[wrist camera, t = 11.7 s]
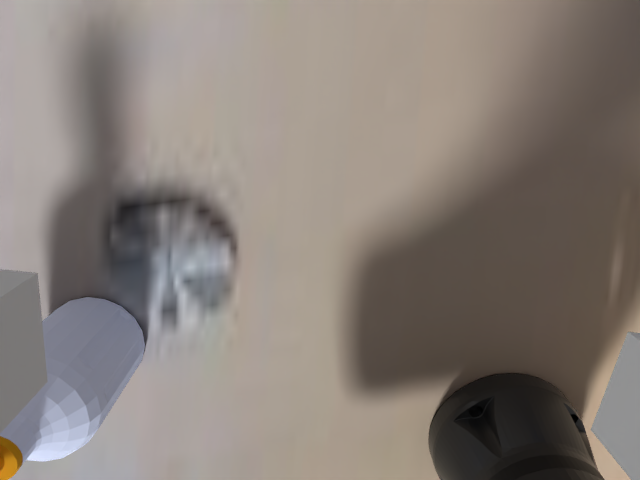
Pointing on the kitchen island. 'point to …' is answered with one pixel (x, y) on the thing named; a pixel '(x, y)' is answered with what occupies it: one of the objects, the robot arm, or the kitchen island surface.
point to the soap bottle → (74, 381)
